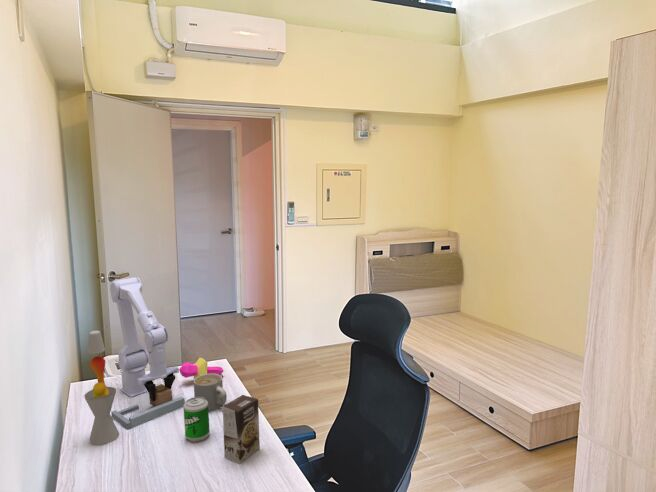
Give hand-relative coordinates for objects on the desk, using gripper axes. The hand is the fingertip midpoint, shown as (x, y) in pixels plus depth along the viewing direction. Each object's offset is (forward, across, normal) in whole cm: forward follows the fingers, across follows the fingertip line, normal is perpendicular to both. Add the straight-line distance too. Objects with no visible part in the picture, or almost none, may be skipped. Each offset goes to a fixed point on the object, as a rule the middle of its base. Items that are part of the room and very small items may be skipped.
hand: (160, 397), depth 170 cm
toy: (+4, +22, +8) cm, 24 cm away
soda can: (+4, -2, -27) cm, 27 cm away
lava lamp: (+4, -22, -5) cm, 23 cm away
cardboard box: (+3, 0, 0) cm, 3 cm away
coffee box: (+4, +2, -45) cm, 45 cm away
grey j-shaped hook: (+4, -4, 0) cm, 5 cm away
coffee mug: (+4, +12, -14) cm, 19 cm away
